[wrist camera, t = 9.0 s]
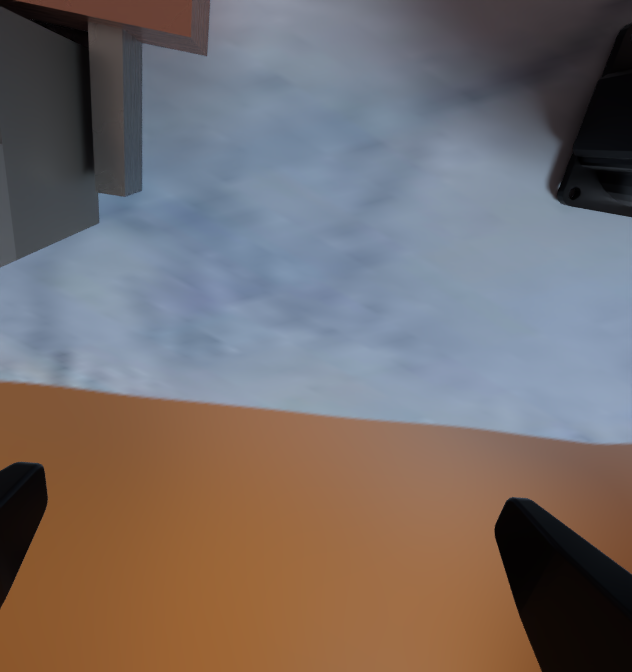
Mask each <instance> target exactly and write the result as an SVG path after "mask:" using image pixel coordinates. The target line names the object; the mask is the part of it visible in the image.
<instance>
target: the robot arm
mask: <svg viewBox="0 0 632 672" xmlns="http://www.w3.org/2000/svg"><path fill="white" fill-rule="evenodd" d="M631 35H632V23H630V24H628V25H626V26H624V27H623V28H622V29H621V30H620V32H619V34H618V36H617V38H616V41H615V43H614V46H613V49H612V51H611V54H610V56H609V59H608V62H607V64H606V67H605V70H604V72H603V75H602V77H601V79H600V80H599V81H598V83H597V85H596V88H595V90H594V93H593V96H592V98H591V101H590V104H589V106H588V109H587V111H586V114H585V117H584V119H583V122H582V125H581V127H580V130H579V132H578V135H577V138H576V140H575V143H574V146H573V153H572V156H571V158H570V161H569V164H568V166H567V169H566V172H565V174H564V177H563V179H562V182H561V185H560V187H559V190H558V194H557V197H558V201H559V202H560V203H561V204H563V205H567V206H572V207H578V208H583V209H589V210H595V211H600V212H606V213H611V214H617V215H622V216H628V217H632V44H631V41H630V38H631ZM573 188H574V190H575V193H574V195H573V196H572V197H571V198H569V192H570V191H571V189H573ZM47 500H48V496H47V487H46V479H45V471H44V467H43V466H42V465H41V464H39V463H28V462H17V463H14V464H12V465H10V466H8V467H6V468H5V469H3V470H1V471H0V608H1V606H2V604H3V603H4V601H5V599H6V596H7V595H8V592H9V590H10V588H11V586H12V584H13V582H14V580H15V577H16V575H17V573H18V571H19V568H20V566H21V564H22V561H23V559H24V557H25V555H26V553H27V550H28V548H29V546H30V544H31V542H32V539H33V537H34V535H35V533H36V530H37V528H38V526H39V524H40V521H41V519H42V517H43V515H44V512H45V510H46V506H47ZM495 538H496V542H497V545H498V548H499V552H500V555H501V558H502V561H503V565H504V568H505V571H506V574H507V578H508V581H509V584H510V588H511V591H512V594H513V597H514V600H515V604H516V607H517V609H518V613H519V616H520V618H521V621H522V623H523V626H524V629H525V631H526V634H527V636H528V639H529V641H530V643H531V646H532V648H533V651H534V653H535V656H536V658H537V661H538V663H539V665H540V668H541V671H542V672H632V574H630V573H629V572H628V571H627V570H625V569H624V568H622V567H621V566H620V565H618V564H617V563H615V562H614V561H613V560H612V559H610V558H609V557H608V556H606V555H605V554H603V553H602V552H601V551H600V550H598V549H597V548H595V547H594V546H593V545H591V544H590V543H589V542H587V541H586V540H585V539H583V538H582V537H581V536H579V535H578V534H577V533H575V532H574V531H573V530H571V529H570V528H568V527H567V526H565V524H563V523H562V522H560V521H559V520H558V519H556V518H555V517H554V516H552V515H551V514H550V513H548V512H547V511H546V510H544V509H543V508H542V507H540V506H539V505H538V504H536V503H535V502H534V501H532V500H530V499H527V498H515V497H512V498H509V499H508V500H507V501H506V503H505V505H504V507H503V509H502V511H501V513H500V515H499V518H498V520H497V522H496V525H495Z"/></svg>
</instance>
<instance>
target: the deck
mask: <svg viewBox="0 0 632 672" xmlns="http://www.w3.org/2000/svg"><path fill="white" fill-rule="evenodd" d="M0 6H1V7H3V8H5V9H7V10H9V11H11V12H13V13H15V14H17V15H20V16H22V17H24V18H26V19H30V20H35V21H39V22H44V23H49V24H54V25H59V26H64V27H68V28H73V29H78V30H83V31H88V37H89V60H90V82H91V105H92V128H93V150H94V173H95V192H98V193H104V194H110V195H117V196H123V197H126V196H129V195H131V194H134V193H137V192H140V191H142V43H146V44H151V45H156V46H160V47H165V48H170V49H175V50H180V51H185V52H190V53H194V54H199V55H204V56H207V48H208V29H209V9H210V0H0Z"/></svg>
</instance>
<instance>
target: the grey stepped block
mask: <svg viewBox="0 0 632 672" xmlns="http://www.w3.org/2000/svg"><path fill="white" fill-rule="evenodd" d="M98 223H99V204H98V192H95V173H94V150H93V128H92V105H91V82H90V60H89V49H87V48H85V47H83V46H81V45H79V44H77V43H75V42H73V41H71V40H69V39H67V38H65V37H63V36H61V35H59V34H57V33H55V32H52V31H50V30H48V29H46V28H44V27H42V26H40V25H38V24H36V23H34V22H32V21H30V20H28V19H26V18H24V17H22V16H20V15H17V14H15V13H13V12H11V11H9V10H7V9H5V8H3V7H1V6H0V267H2V266H4V265H7V264H9V263H11V262H13V261H16V260H18V259H20V258H22V257H25V256H27V255H29V254H31V253H33V252H36V251H38V250H40V249H42V248H45V247H47V246H49V245H51V244H53V243H56V242H58V241H60V240H62V239H65V238H67V237H69V236H71V235H73V234H76V233H78V232H80V231H82V230H85V229H87V228H89V227H91V226H94V225H96V224H98Z"/></svg>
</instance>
